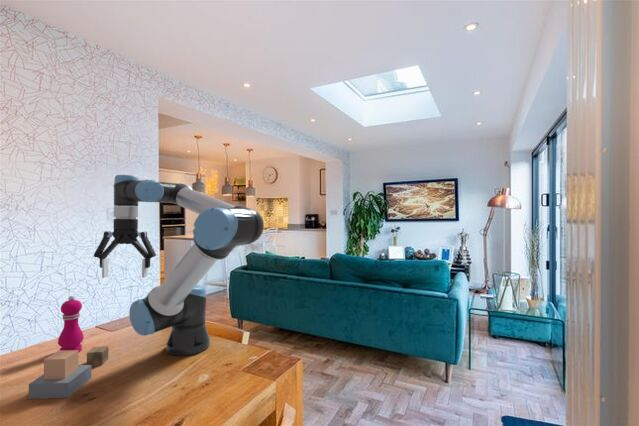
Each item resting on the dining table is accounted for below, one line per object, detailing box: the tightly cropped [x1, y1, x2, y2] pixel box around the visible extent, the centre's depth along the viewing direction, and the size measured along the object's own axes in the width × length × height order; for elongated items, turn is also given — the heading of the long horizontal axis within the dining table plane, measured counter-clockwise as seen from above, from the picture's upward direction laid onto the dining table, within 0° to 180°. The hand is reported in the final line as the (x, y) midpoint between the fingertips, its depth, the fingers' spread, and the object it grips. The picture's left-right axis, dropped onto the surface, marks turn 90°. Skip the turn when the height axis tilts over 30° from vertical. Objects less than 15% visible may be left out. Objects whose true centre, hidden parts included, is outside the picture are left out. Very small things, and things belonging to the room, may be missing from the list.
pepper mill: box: [57, 295, 85, 353], centre depth 113 cm, size 7×7×20 cm
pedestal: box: [28, 364, 93, 400], centre depth 91 cm, size 10×10×4 cm
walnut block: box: [86, 345, 109, 367], centre depth 106 cm, size 4×4×4 cm
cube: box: [43, 350, 79, 379], centre depth 91 cm, size 6×6×6 cm
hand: (125, 276), depth 115 cm, fingers open, 13 cm apart
